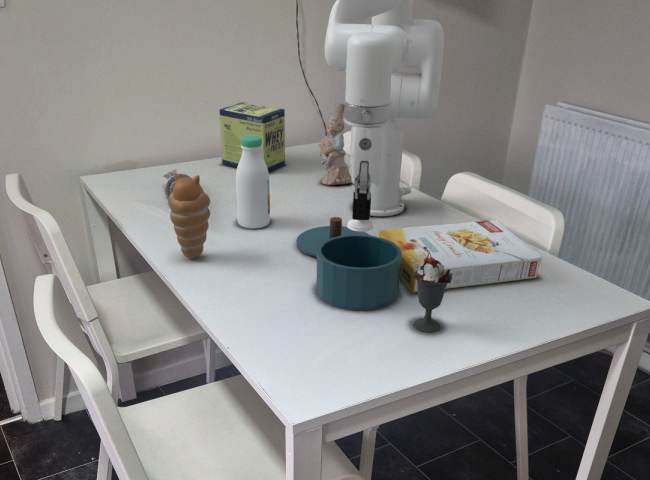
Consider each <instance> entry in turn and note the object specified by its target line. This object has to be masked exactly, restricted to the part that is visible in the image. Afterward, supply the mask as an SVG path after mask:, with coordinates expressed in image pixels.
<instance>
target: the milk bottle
mask: <svg viewBox="0 0 650 480" xmlns="http://www.w3.org/2000/svg"><path fill="white" fill-rule="evenodd" d="M261 144H262V139H261V137H260V136H256V135H247V136H243V137H242V138H241V148H242V156H241V159H240V162H239V164H238V167H237V168H236V170H235V171H236V173H235V191H236V192H235V194H236V195H235V197H236V216H237V217H236V219H237V223H238V225H239V226H240V227H243V228H246V229H262V228H265V227H267V226H268V225H269V224H270V222H271V197H270V196H271V195H270V190H271V189H270V174H269V172H268V169H267V166H266V164H265V162H264V159H263V157H262V154H261V148H262V146H261Z"/></svg>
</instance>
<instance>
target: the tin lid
mask: <svg viewBox="0 0 650 480" xmlns="http://www.w3.org/2000/svg"><path fill="white" fill-rule="evenodd" d="M355 234H357V235H370V234H369V233H368V232H367V231H364V232H359V231H353V230H351V229H349V228H348V227H347V226H343V218H341V217H339V216H332V217H330V218H329V225H323V226H317V227H313V228H308V229H306V230H305V231H302V232H301V233H300V234H298V235H297V237H296V246H297V248H298V249H300V251H301V252H303V253H305V254H307V255H309V256H312V257H315V258H317V248H318V247H319V245H320V244H321V243H322V242H324V241H326V240H328V239H330V238H334V237H338V236H342V235H355Z"/></svg>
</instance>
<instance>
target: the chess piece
mask: <svg viewBox="0 0 650 480" xmlns="http://www.w3.org/2000/svg"><path fill="white" fill-rule="evenodd" d="M358 187H360V186H358ZM367 188H368V186H367ZM346 227H348V228H349V229H351V230H353V231H359V232H369V231H372V230H374V228H375V226H374V222H373V221H372V220H371V219H369V220H354V219H353V218H351V219H349V220H348V221H347V225H346Z"/></svg>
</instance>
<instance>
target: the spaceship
mask: <svg viewBox="0 0 650 480" xmlns="http://www.w3.org/2000/svg"><path fill="white" fill-rule="evenodd" d="M174 173H176V174H177V168H175V169H173V170H171V171H168V172H167V173H166V174H164V175H163V176H162V177H163V178H165V179H166V180H167V181H166V182H165V183H164V184H163V185H162V187H163V189H164V194H165V197H166V199H167V200H168V198H169V196H170V194H171V193H172V192H173V187H174V185H175V183H176V182H175V177H174ZM178 174H179V175H180V176H182V177H183V178H184V177H189V178H192V177H191V176H190V175H188V174H187V173H178Z"/></svg>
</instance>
